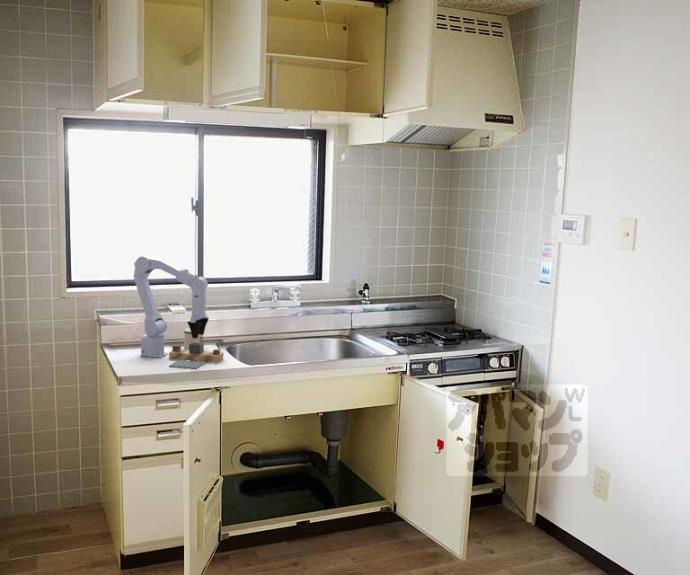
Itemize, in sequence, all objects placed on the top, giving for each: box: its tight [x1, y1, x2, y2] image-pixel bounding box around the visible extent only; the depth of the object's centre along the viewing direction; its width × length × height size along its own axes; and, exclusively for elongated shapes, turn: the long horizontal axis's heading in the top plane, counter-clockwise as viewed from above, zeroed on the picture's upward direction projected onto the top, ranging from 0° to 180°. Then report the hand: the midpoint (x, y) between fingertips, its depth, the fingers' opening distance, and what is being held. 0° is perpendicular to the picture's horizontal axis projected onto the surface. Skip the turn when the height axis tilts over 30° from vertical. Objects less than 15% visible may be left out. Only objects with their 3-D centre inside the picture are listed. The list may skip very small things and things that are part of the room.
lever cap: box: [189, 341, 205, 354], centre depth 312 cm, size 5×4×5 cm
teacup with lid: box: [183, 326, 204, 350], centre depth 331 cm, size 12×9×12 cm
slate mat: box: [168, 360, 206, 370], centre depth 302 cm, size 12×10×1 cm
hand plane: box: [168, 344, 224, 364], centre depth 312 cm, size 22×7×5 cm, turn 82°
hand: (198, 336), depth 311 cm, fingers open, 7 cm apart
